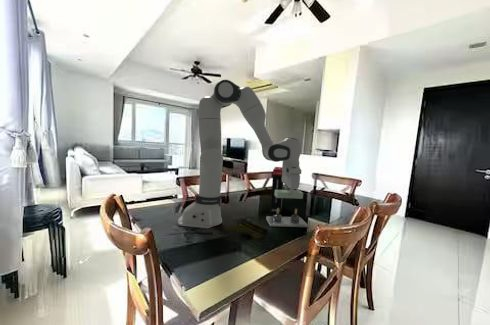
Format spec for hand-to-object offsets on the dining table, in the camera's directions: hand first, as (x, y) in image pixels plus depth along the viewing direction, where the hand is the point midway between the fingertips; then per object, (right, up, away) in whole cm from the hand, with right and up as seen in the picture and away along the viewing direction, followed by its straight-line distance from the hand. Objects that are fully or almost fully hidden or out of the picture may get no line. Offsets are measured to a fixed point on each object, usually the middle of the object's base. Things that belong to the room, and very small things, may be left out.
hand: (288, 193), depth 120 cm
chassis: (-1, -16, +2) cm, 16 cm away
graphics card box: (-3, -14, +24) cm, 28 cm away
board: (0, -2, 0) cm, 2 cm away
